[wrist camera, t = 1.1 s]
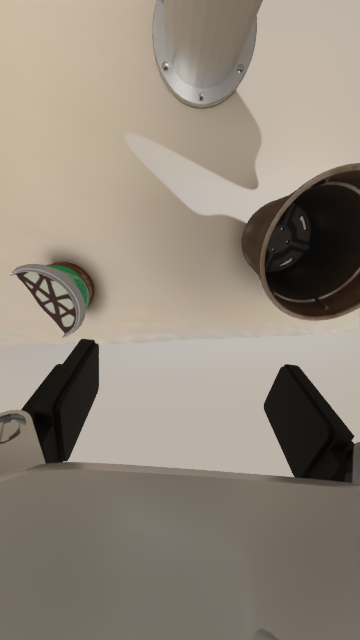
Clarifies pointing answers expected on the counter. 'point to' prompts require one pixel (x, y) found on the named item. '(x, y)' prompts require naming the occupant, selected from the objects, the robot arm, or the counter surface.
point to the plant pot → (310, 246)
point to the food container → (59, 291)
